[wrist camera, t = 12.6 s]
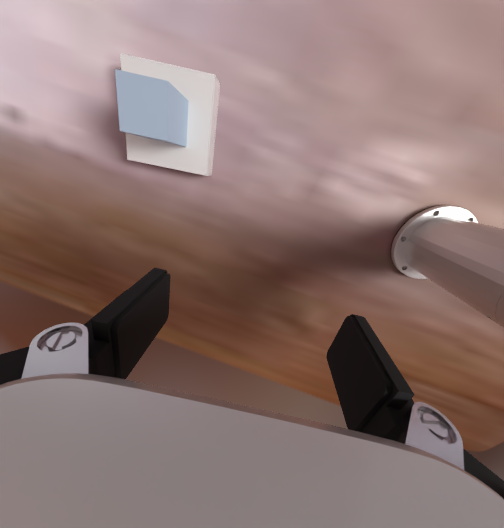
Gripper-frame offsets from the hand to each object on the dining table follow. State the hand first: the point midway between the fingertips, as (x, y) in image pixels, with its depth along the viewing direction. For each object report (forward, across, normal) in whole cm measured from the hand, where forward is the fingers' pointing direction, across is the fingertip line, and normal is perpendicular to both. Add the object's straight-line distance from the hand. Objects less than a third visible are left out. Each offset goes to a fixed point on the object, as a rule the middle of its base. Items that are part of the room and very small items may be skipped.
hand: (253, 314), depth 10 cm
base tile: (+24, +15, -10) cm, 30 cm away
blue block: (+21, +15, -10) cm, 28 cm away
